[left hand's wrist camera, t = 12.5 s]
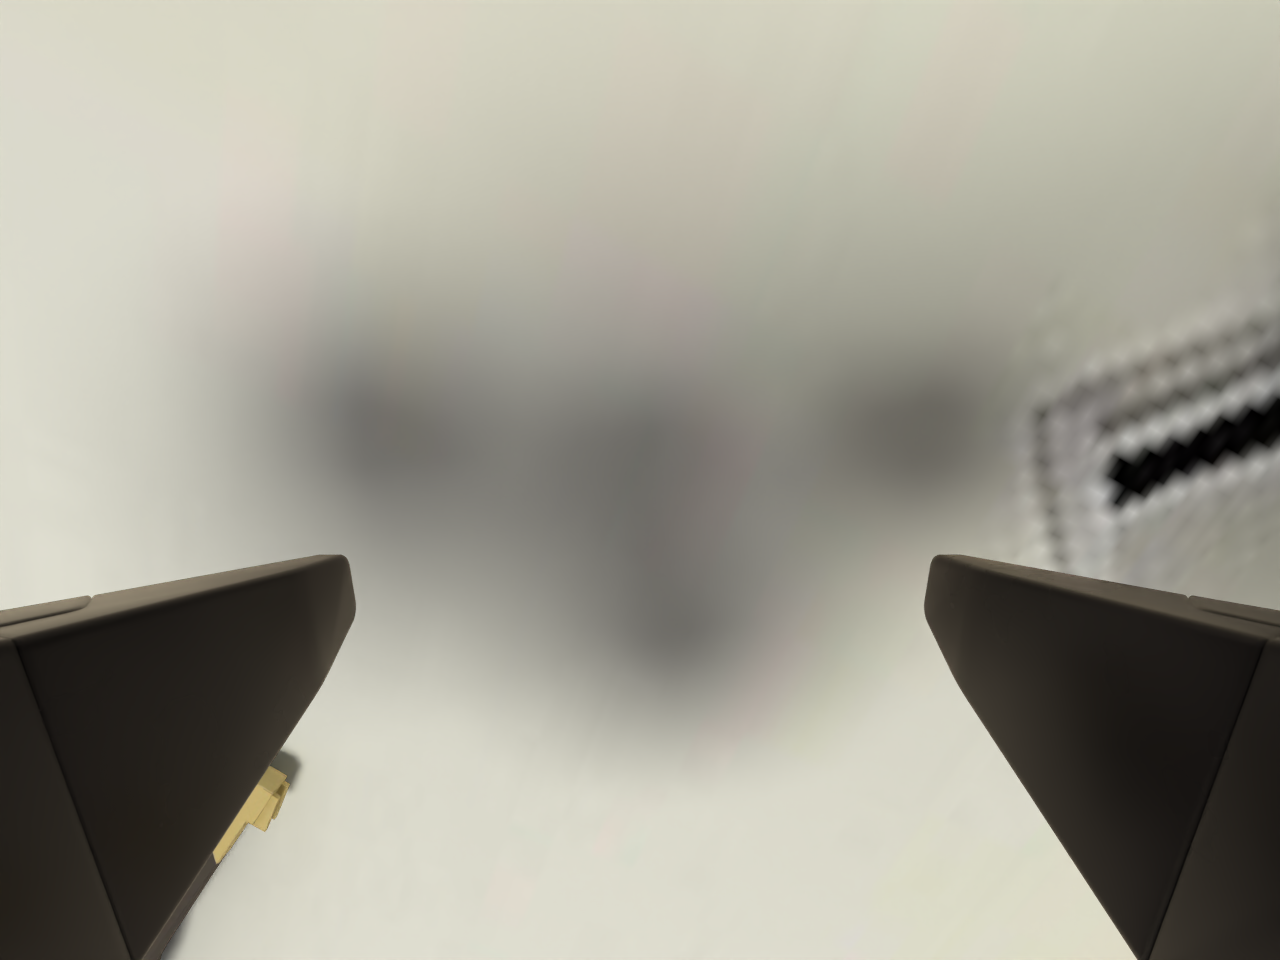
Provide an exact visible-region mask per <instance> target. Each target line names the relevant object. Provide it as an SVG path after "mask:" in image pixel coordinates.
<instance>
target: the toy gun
mask: <svg viewBox="0 0 1280 960" xmlns="http://www.w3.org/2000/svg"><path fill="white" fill-rule="evenodd" d="M286 778H287V776H286V775H285V774H283V773H281V772H280V771H278V770H276V769H275V768H273V767H271V766H269V767H268V769H267V770H266V772H265V773H264V775H263V777H262V778H261V780H260V781H259V783H258V784H257V786H256V787H255V789H254V790H253V792H252V793H251V795H250V796H249V798H248V799H247V801H246V802H245V804H244V806H243V807H242V809H241V810H240V812H239V813H238V815H237V816H236V818H235V819H234V821H233V822H232V824H231V825H230V827H229V828H228V830H227V832H226V833H225V835H224V836H223V838H222V839H221V841H220V842H219V844H218V845H217V847H216V848H215V850H214V851H213V853H212V854H211V856H210V857H209V859H208V861H207V862H206V864H205V865H204V867H203V868H202V870H201V871H200V873H199V874H198V876H197V877H196V879H195V880H194V882H193V883H192V885H191V886H190V888H189V890H188V891H187V893H186V894H185V896H184V897H183V899H182V900H181V902H180V903H179V905H178V906H177V908H176V909H175V911H174V912H173V914H172V916H171V917H170V919H169V920H168V922H167V923H166V925H165V926H164V928H163V929H162V931H161V932H160V934H159V935H158V937H157V938H156V940H155V941H154V943H153V945H152V946H151V948H150V949H149V951H148V952H147V954H146V955H145V957H144V958H143V960H160V959H161V955H162V952H163V951H164V949H165V947H166V945H167V944H168V942H169V941H170V939H171V937H172V936H173V934H174V933H175V931H176V930H177V928H178V927H179V925H180V924H181V922H182V921H183V919H184V917H185V916H186V914H187V913H188V911H189V910H190V908H191V907H192V905H193V904H194V902H195V900H196V899H197V897H198V896H199V894H200V893H201V891H202V890H203V888H204V887H205V885H206V884H207V882H208V880H209V879H210V877H211V876H212V874H213V873H214V871H215V870H216V868H217V867H218V865H219V864H220V862H221V861H222V859H223V858H224V856H225V855H226V853H227V852H228V851H229V850H230V849H231V847H232V846H233V844H234V843H235V841H236V840H237V839H238V837H239V836H240V834H241V833H242V831H243V830H244V828H245V827H246V825H247V824H248V823H250V824H252V825H253V826H255V827H257V828H259V829H261V830H262V831H264V832H265V831H266V830H267V828H268V826H269V823H270V821H271V818H272V819H275V818H276V817H277V815H278V812H279V810H280V807H281V805H282V802H283V800H284V798H285V795H286V793H287V790H288V788H289V785H290V784H289V783H287V782H286V781H285V779H286Z"/></svg>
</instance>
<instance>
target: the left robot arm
mask: <svg viewBox="0 0 1280 960" xmlns="http://www.w3.org/2000/svg"><path fill="white" fill-rule="evenodd" d="M355 611H356V602H355V595H354V589H353V583H352V577H351V571H350V565H349V562H348V560H347V558H346V557H345V556H343V555H315V556H309V557H304V558H298V559H293V560H287V561H282V562H276V563H271V564H265V565H259V566H254V567H248V568H243V569H237V570H232V571H226V572H221V573H215V574H209V575H204V576H198V577H193V578H187V579H182V580H176V581H171V582H165V583H160V584H154V585H148V586H143V587H137V588H132V589H126V590H121V591H115V592H110V593H104V594H98V595H94V596H93V597H92V598H91V597H90V596H82V597H76V598H71V599H65V600H59V601H53V602H48V603H42V604H36V605H30V606H25V607H19V608H13V609H7V610H1V611H0V960H143V958H144V957H145V955H146V954H147V952H148V951H149V949H150V948H151V946H152V945H153V943H154V941H155V940H156V938H157V937H158V935H159V934H160V932H161V931H162V929H163V928H164V926H165V925H166V923H167V922H168V920H169V919H170V917H171V916H172V914H173V912H174V911H175V909H176V908H177V906H178V905H179V903H180V902H181V900H182V899H183V897H184V896H185V894H186V893H187V891H188V890H189V888H190V886H191V885H192V883H193V882H194V880H195V879H196V877H197V876H198V874H199V873H200V871H201V870H202V868H203V867H204V865H205V864H206V862H207V861H208V859H209V857H210V856H211V854H212V853H213V851H214V850H215V848H216V847H217V845H218V844H219V842H220V841H221V839H222V838H223V836H224V835H225V833H226V832H227V830H228V828H229V827H230V825H231V824H232V822H233V821H234V819H235V818H236V816H237V815H238V813H239V812H240V810H241V809H242V807H243V806H244V804H245V802H246V801H247V799H248V798H249V796H250V795H251V793H252V792H253V790H254V789H255V787H256V786H257V784H258V783H259V781H260V780H261V778H262V777H263V775H264V773H265V772H266V770H267V769H268V767H269V766H270V764H271V763H272V761H273V760H274V758H275V757H276V755H277V754H278V752H279V751H280V749H281V747H282V746H283V744H284V743H285V741H286V740H287V738H288V737H289V735H290V734H291V732H292V731H293V729H294V728H295V726H296V725H297V723H298V722H299V720H300V718H301V717H302V715H303V714H304V712H305V711H306V709H307V708H308V706H309V705H310V703H311V702H312V700H313V699H314V697H315V695H316V694H317V692H318V691H319V689H320V687H321V686H322V684H323V682H324V680H325V678H326V676H327V674H328V672H329V670H330V668H331V666H332V664H333V662H334V660H335V658H336V656H337V654H338V652H339V650H340V647H341V645H342V643H343V641H344V639H345V637H346V635H347V633H348V631H349V629H350V627H351V624H352V622H353V620H354V617H355ZM924 611H925V617H926V620H927V622H928V624H929V627H930V629H931V631H932V633H933V635H934V637H935V639H936V641H937V643H938V645H939V647H940V650H941V652H942V654H943V656H944V658H945V660H946V662H947V664H948V666H949V668H950V670H951V672H952V674H953V676H954V678H955V680H956V682H957V684H958V686H959V687H960V689H961V691H962V692H963V694H964V695H965V697H966V699H967V700H968V702H969V703H970V705H971V706H972V708H973V709H974V711H975V712H976V714H977V715H978V717H979V718H980V720H981V722H982V723H983V725H984V726H985V728H986V729H987V731H988V732H989V734H990V735H991V737H992V738H993V740H994V741H995V743H996V744H997V746H998V747H999V749H1000V750H1001V752H1002V754H1003V755H1004V757H1005V758H1006V760H1007V761H1008V763H1009V764H1010V766H1011V767H1012V769H1013V770H1014V772H1015V773H1016V775H1017V776H1018V778H1019V779H1020V781H1021V783H1022V784H1023V786H1024V787H1025V789H1026V790H1027V792H1028V793H1029V795H1030V796H1031V798H1032V799H1033V801H1034V802H1035V804H1036V805H1037V807H1038V808H1039V810H1040V812H1041V813H1042V815H1043V816H1044V818H1045V819H1046V821H1047V822H1048V824H1049V825H1050V827H1051V828H1052V830H1053V831H1054V833H1055V834H1056V836H1057V838H1058V839H1059V841H1060V842H1061V844H1062V845H1063V847H1064V848H1065V850H1066V851H1067V853H1068V854H1069V856H1070V857H1071V859H1072V860H1073V862H1074V863H1075V865H1076V867H1077V868H1078V870H1079V871H1080V873H1081V874H1082V876H1083V877H1084V879H1085V880H1086V882H1087V883H1088V885H1089V886H1090V888H1091V889H1092V891H1093V893H1094V894H1095V896H1096V897H1097V899H1098V900H1099V902H1100V903H1101V905H1102V906H1103V908H1104V909H1105V911H1106V912H1107V914H1108V915H1109V917H1110V919H1111V920H1112V922H1113V923H1114V925H1115V926H1116V928H1117V929H1118V931H1119V932H1120V934H1121V935H1122V937H1123V938H1124V940H1125V941H1126V943H1127V945H1128V946H1129V948H1130V949H1131V951H1132V952H1133V954H1134V955H1135V957H1136V958H1137V960H1280V611H1279V610H1273V609H1267V608H1261V607H1255V606H1250V605H1244V604H1238V603H1232V602H1227V601H1221V600H1215V599H1209V598H1204V597H1198V596H1190V597H1189V598H1188V597H1187V596H1186V595H1182V594H1177V593H1171V592H1166V591H1160V590H1154V589H1149V588H1143V587H1138V586H1132V585H1127V584H1121V583H1115V582H1110V581H1104V580H1099V579H1093V578H1088V577H1082V576H1076V575H1071V574H1065V573H1060V572H1054V571H1049V570H1043V569H1037V568H1032V567H1026V566H1021V565H1015V564H1010V563H1004V562H999V561H993V560H987V559H982V558H976V557H971V556H965V555H937V556H935V557H934V558H933V560H932V562H931V565H930V571H929V577H928V583H927V589H926V595H925V602H924Z"/></svg>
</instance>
